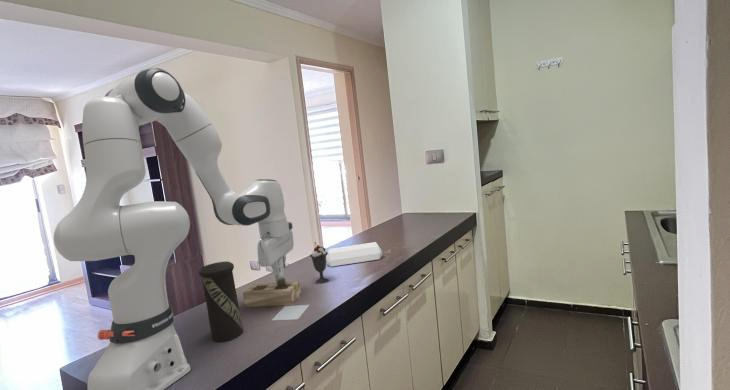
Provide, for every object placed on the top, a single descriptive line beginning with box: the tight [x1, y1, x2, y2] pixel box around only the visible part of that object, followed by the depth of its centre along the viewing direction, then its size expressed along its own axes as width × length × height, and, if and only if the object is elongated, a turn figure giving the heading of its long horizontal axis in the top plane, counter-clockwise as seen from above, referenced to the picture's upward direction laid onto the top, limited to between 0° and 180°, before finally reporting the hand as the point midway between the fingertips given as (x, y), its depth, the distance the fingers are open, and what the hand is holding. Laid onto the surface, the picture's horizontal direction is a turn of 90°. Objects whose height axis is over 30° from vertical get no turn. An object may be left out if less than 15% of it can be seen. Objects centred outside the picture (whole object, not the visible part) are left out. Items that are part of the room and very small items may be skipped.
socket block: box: [242, 280, 302, 308], centre depth 126 cm, size 8×16×5 cm, turn 79°
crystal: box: [326, 241, 383, 268], centre depth 162 cm, size 7×7×24 cm
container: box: [198, 261, 244, 343], centre depth 103 cm, size 9×9×20 cm
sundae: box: [309, 242, 330, 284], centre depth 141 cm, size 7×7×15 cm
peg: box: [274, 258, 287, 288], centre depth 125 cm, size 3×3×10 cm
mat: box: [271, 304, 310, 321], centre depth 115 cm, size 10×8×1 cm
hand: (279, 271), depth 125 cm, fingers closed on peg, 3 cm apart
